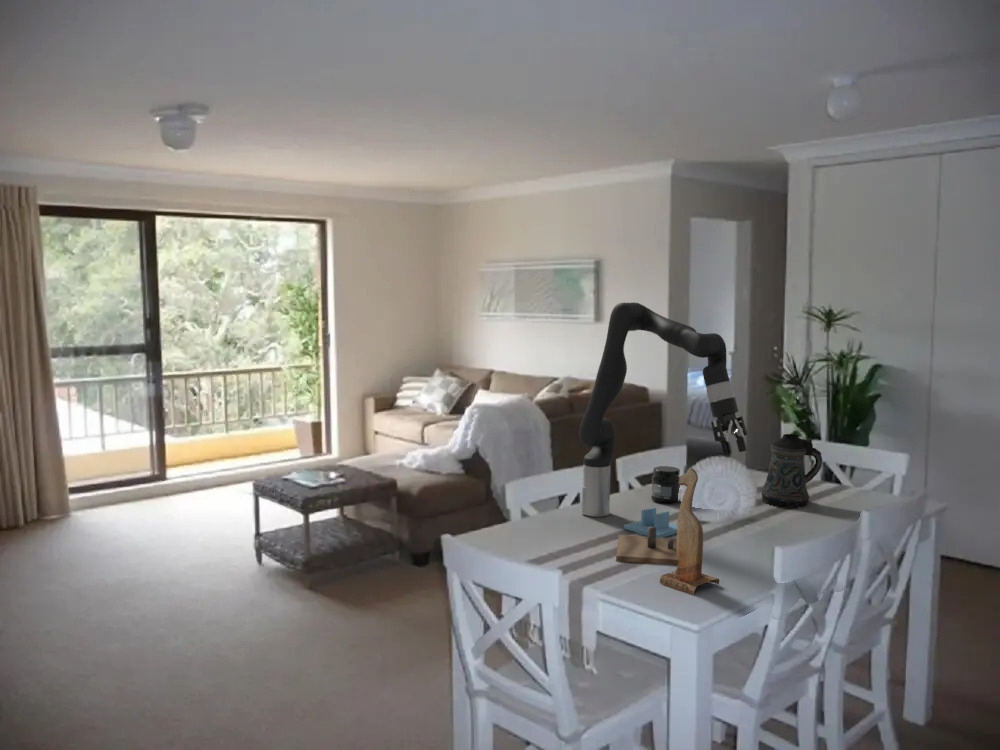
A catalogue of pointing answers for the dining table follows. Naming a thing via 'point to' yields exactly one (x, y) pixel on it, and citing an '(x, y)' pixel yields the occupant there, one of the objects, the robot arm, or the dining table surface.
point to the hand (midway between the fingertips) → (735, 453)
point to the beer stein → (790, 472)
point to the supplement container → (665, 484)
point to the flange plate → (653, 523)
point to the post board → (647, 549)
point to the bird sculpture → (688, 543)
